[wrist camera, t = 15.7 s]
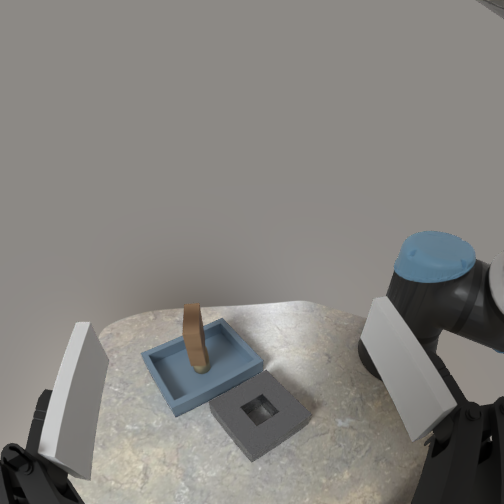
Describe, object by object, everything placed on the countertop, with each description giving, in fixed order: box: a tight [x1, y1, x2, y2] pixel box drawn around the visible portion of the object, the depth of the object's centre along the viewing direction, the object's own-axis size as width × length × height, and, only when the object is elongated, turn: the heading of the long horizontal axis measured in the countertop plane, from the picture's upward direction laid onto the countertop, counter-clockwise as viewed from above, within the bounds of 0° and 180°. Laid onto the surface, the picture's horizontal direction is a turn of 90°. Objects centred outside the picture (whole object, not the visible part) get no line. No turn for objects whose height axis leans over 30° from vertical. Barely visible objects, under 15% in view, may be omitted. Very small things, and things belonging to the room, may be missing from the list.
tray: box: [141, 318, 263, 417], centre depth 44 cm, size 16×12×3 cm
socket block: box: [209, 370, 312, 462], centre depth 36 cm, size 10×10×4 cm
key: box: [183, 303, 211, 374], centre depth 41 cm, size 6×3×12 cm, turn 8°
